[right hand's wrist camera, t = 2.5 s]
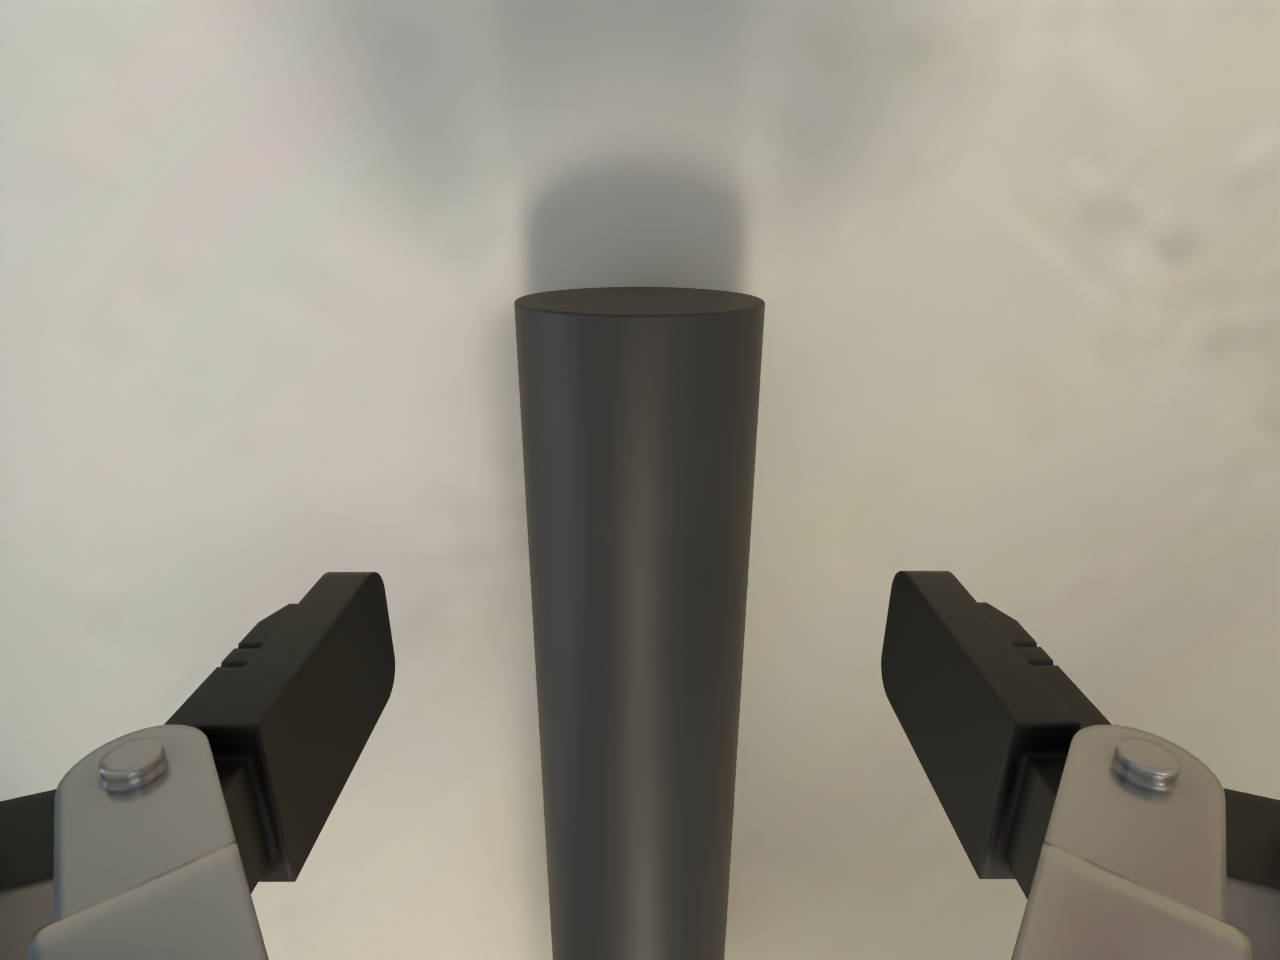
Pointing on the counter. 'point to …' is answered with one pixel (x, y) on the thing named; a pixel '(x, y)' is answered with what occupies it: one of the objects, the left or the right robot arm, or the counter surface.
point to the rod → (639, 603)
